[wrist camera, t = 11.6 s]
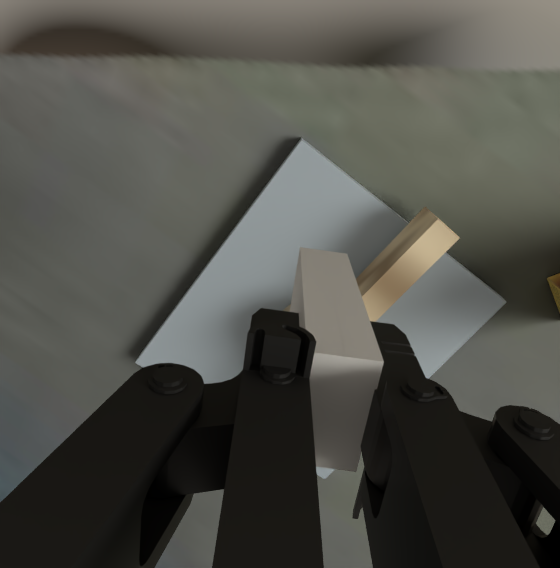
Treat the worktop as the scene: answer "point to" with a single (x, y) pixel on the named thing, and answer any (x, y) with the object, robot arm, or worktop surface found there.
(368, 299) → the peg knob
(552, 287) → the candy box
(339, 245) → the board
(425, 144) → the worktop surface
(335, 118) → the worktop surface
